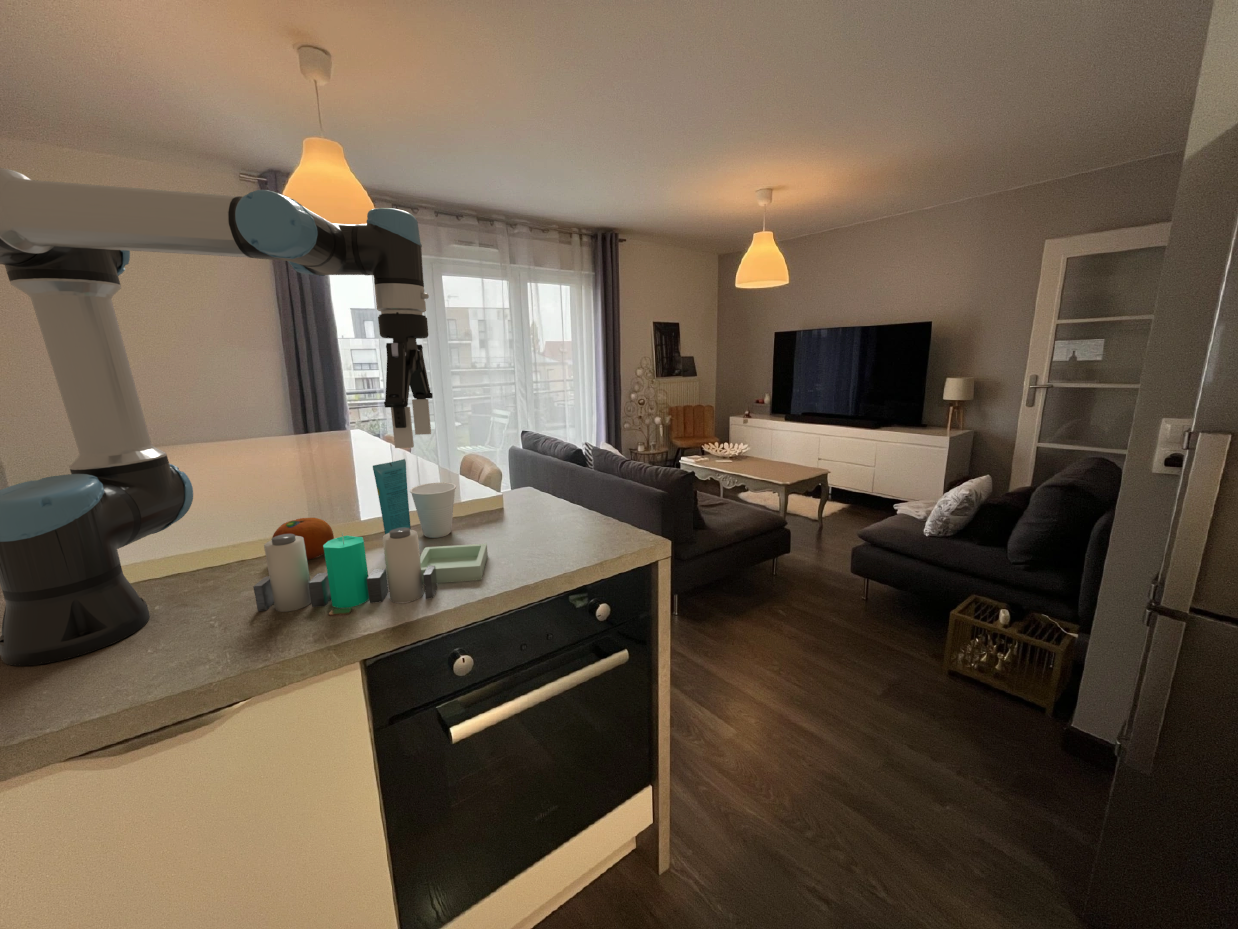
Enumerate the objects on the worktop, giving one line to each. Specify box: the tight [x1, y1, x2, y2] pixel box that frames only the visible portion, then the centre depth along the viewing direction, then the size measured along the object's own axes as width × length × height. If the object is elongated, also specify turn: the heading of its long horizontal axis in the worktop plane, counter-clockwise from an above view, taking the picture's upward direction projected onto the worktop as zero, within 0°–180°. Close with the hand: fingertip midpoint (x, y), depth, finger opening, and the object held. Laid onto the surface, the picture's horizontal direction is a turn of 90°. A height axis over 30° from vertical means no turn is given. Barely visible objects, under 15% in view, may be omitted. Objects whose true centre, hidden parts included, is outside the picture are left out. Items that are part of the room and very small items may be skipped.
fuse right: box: [382, 527, 425, 604], centre depth 84 cm, size 5×5×12 cm
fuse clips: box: [253, 566, 438, 617], centre depth 82 cm, size 27×7×4 cm, turn 98°
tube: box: [372, 458, 412, 535], centre depth 103 cm, size 7×5×19 cm, turn 156°
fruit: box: [271, 517, 335, 561], centre depth 101 cm, size 11×10×8 cm
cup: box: [409, 482, 457, 539], centre depth 114 cm, size 10×10×11 cm
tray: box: [420, 543, 489, 585], centre depth 95 cm, size 12×11×3 cm
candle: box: [323, 532, 369, 609], centre depth 83 cm, size 6×6×12 cm
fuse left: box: [263, 534, 311, 613], centre depth 82 cm, size 5×5×12 cm
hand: (414, 440), depth 87 cm, fingers open, 13 cm apart
